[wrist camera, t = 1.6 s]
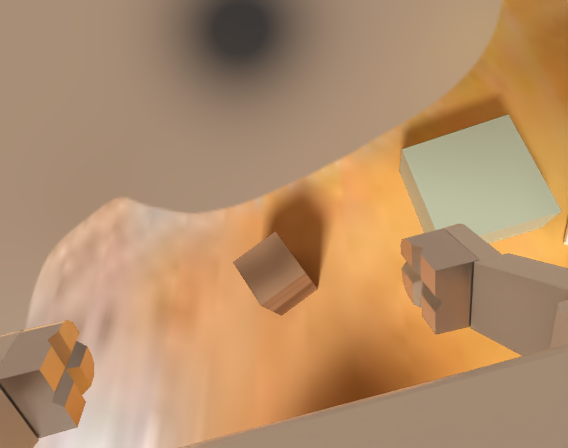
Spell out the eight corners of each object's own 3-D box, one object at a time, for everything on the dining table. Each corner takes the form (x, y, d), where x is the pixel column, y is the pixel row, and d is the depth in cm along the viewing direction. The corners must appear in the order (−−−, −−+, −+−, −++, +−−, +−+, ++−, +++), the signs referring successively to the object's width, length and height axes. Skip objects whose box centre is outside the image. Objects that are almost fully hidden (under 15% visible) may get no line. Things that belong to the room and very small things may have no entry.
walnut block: (317, 288, 41) (305, 272, 33) (281, 315, 41) (260, 305, 33) (292, 254, 43) (275, 231, 35) (257, 279, 42) (232, 262, 35)
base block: (539, 229, 39) (561, 211, 34) (434, 260, 40) (442, 246, 35) (493, 141, 42) (508, 114, 38) (399, 172, 43) (401, 149, 39)
